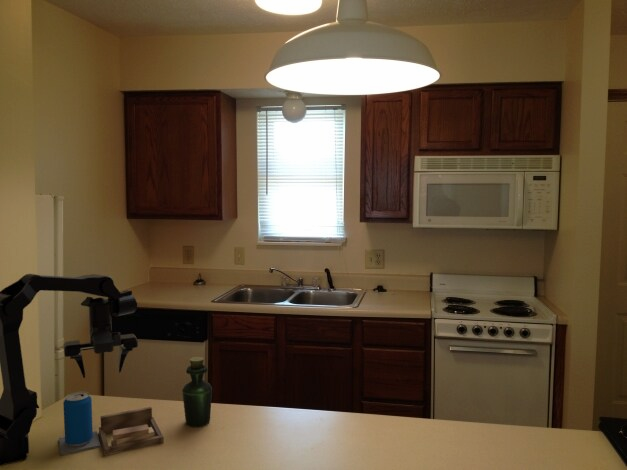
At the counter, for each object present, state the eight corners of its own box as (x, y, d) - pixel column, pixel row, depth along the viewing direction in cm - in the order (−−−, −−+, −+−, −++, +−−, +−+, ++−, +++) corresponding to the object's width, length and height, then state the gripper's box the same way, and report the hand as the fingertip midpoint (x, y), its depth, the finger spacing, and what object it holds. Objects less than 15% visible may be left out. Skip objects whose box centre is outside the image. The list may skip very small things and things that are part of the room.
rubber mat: (60, 455, 126) (60, 453, 126) (59, 440, 134) (59, 438, 134) (100, 446, 130) (100, 445, 130) (96, 432, 138) (96, 430, 138)
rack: (105, 455, 126) (104, 437, 125) (99, 432, 138) (98, 416, 137) (163, 442, 132) (163, 425, 132) (153, 422, 144) (152, 406, 144)
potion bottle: (206, 429, 140) (205, 364, 138) (178, 427, 141) (176, 362, 140) (216, 417, 148) (215, 355, 146) (189, 415, 149) (188, 353, 148)
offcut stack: (113, 451, 128) (112, 436, 127) (111, 445, 131) (110, 430, 131) (155, 442, 132) (154, 427, 132) (152, 436, 136) (151, 422, 135)
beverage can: (97, 436, 135) (96, 391, 134) (84, 448, 128) (82, 401, 127) (74, 435, 135) (72, 390, 134) (59, 447, 129) (57, 400, 128)
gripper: (64, 330, 132) (66, 390, 133) (140, 322, 141) (142, 378, 142) (62, 321, 142) (64, 377, 143) (133, 314, 151) (135, 366, 152)
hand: (102, 374), depth 145 cm, fingers open, 9 cm apart
